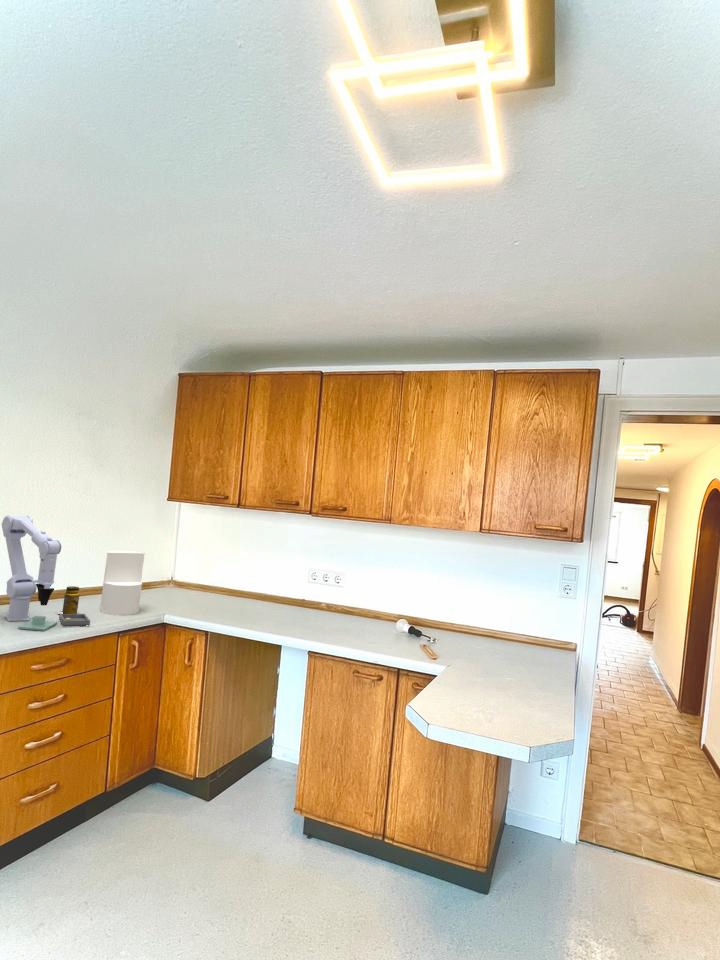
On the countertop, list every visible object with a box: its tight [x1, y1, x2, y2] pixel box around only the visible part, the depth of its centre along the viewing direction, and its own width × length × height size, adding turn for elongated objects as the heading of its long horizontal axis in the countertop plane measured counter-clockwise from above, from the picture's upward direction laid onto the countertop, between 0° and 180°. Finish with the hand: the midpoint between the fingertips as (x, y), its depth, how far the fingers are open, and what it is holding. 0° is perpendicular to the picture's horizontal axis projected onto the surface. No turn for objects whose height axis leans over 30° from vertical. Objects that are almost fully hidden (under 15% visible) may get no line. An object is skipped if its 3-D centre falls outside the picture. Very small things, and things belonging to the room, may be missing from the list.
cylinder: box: [99, 549, 145, 616], centre depth 270 cm, size 17×17×28 cm
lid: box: [17, 615, 58, 632], centre depth 228 cm, size 12×10×4 cm
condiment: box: [61, 585, 80, 614], centre depth 254 cm, size 7×8×12 cm
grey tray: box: [58, 613, 91, 627], centre depth 239 cm, size 12×10×2 cm
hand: (42, 603), depth 229 cm, fingers open, 7 cm apart
